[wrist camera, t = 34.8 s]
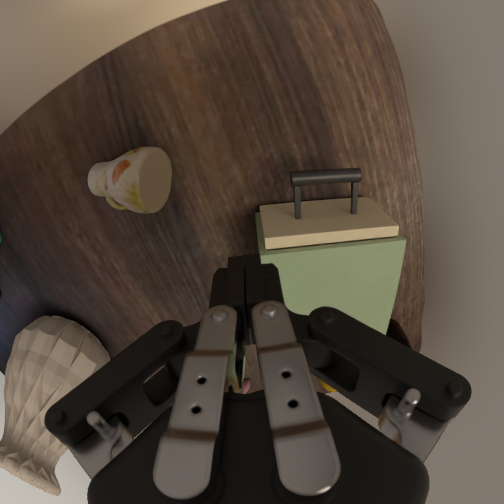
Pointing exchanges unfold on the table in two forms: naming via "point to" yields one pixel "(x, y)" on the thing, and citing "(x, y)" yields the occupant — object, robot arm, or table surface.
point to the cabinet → (340, 276)
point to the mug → (134, 180)
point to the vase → (43, 394)
